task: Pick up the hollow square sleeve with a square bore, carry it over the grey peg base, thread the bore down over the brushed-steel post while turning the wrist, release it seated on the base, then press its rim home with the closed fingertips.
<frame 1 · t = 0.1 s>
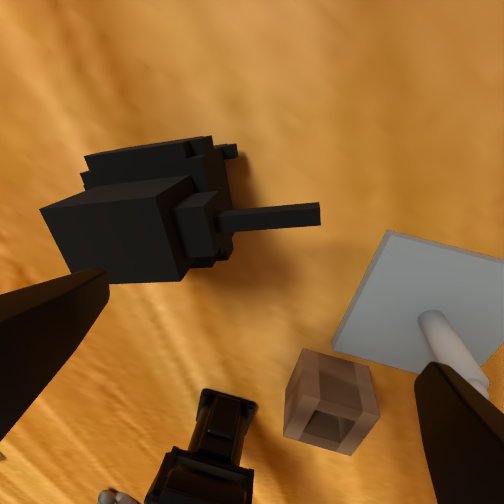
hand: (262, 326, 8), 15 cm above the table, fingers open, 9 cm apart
grey peg base: (426, 311, 23), on the table
hollow square sleeve: (324, 378, 29), on the table
toy: (219, 185, 21), on the table
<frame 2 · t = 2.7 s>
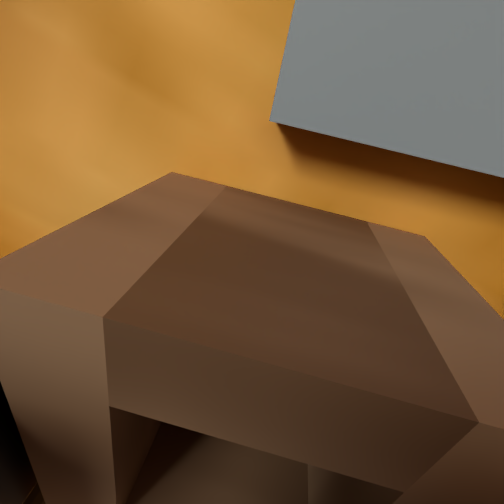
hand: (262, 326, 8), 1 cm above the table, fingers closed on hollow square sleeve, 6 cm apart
hollow square sleeve: (266, 302, 9), on the table, touching gripper
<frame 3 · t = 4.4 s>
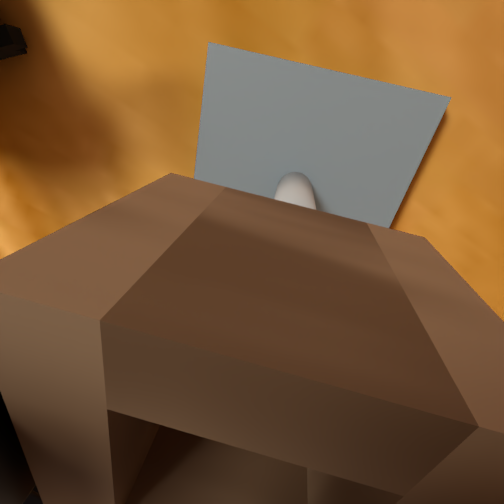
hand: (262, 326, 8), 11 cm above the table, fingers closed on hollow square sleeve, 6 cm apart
grey peg base: (294, 185, 17), on the table
hollow square sleeve: (265, 303, 9), point 10 cm above the table, touching gripper
when the fingers open (3 cm above the table, at t = 6.6 s): hollow square sleeve stays where it is, resting on grey peg base.
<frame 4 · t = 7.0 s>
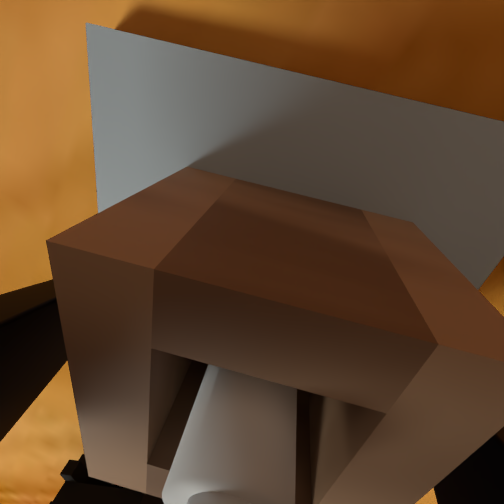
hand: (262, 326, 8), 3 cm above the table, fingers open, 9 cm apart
grey peg base: (271, 269, 10), on the table
hollow square sleeve: (271, 286, 9), point 1 cm above the table, touching grey peg base
toy: (126, 463, 20), on the table
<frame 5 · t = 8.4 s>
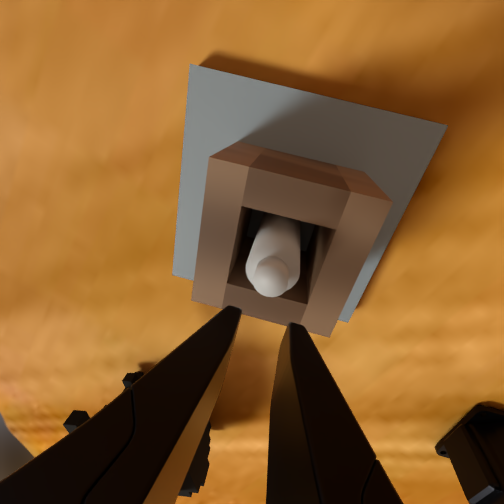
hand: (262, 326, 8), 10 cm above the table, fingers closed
grey peg base: (283, 209, 16), on the table
hollow square sleeve: (283, 215, 16), point 1 cm above the table, touching grey peg base
toy: (168, 380, 26), on the table
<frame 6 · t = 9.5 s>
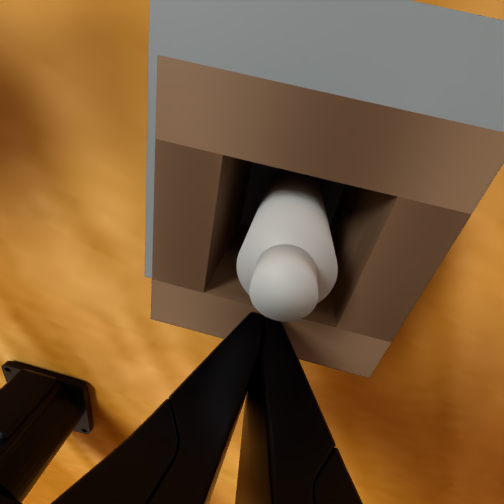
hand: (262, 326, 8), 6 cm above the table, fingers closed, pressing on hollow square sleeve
grey peg base: (294, 184, 12), on the table
hollow square sleeve: (292, 192, 11), point 1 cm above the table, touching gripper, grey peg base
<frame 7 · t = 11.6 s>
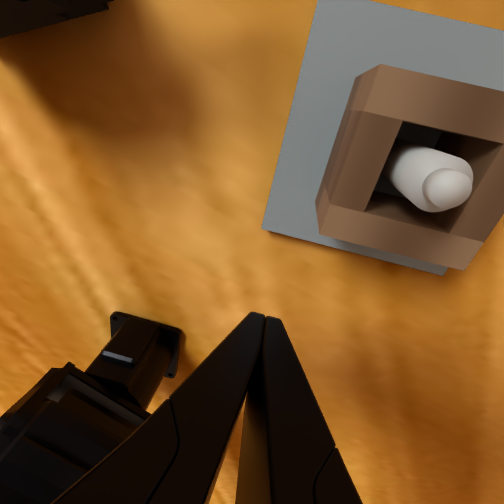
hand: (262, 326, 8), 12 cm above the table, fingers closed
grey peg base: (387, 155, 16), on the table
hollow square sleeve: (391, 159, 15), point 1 cm above the table, touching grey peg base
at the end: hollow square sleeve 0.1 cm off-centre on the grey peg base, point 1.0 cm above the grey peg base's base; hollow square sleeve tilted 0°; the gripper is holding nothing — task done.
